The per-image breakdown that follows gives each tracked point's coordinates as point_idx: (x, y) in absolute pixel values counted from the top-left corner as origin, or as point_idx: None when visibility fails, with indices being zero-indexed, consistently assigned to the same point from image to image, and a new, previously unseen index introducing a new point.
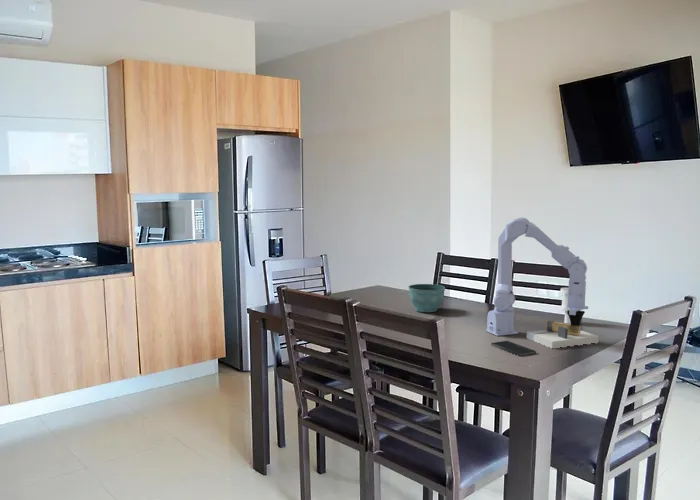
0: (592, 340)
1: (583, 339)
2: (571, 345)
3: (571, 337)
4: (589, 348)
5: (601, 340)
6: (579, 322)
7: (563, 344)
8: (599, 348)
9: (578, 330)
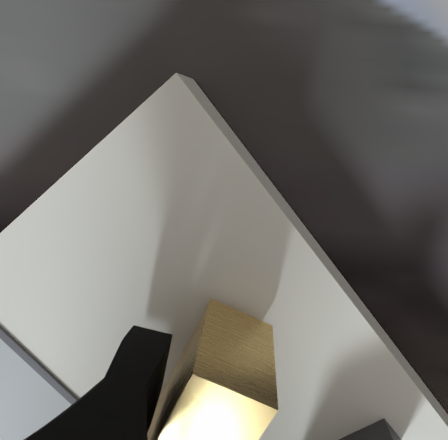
0: (240, 149)
1: (321, 259)
2: (389, 340)
3: (333, 379)
4: (435, 189)
5: (58, 29)
6: (145, 428)
7: (445, 416)
8: (418, 83)
9: (270, 363)
